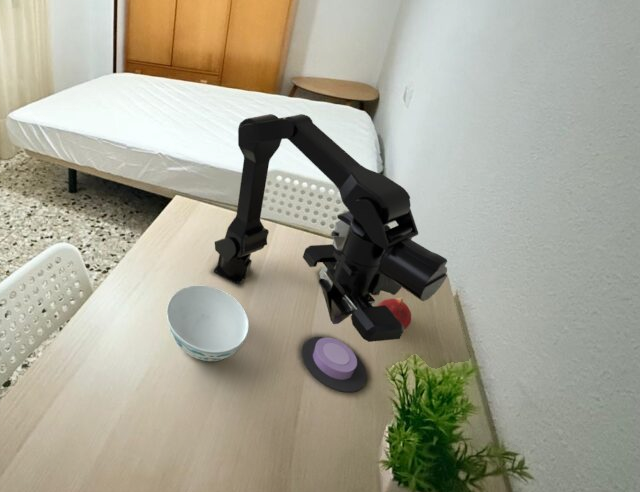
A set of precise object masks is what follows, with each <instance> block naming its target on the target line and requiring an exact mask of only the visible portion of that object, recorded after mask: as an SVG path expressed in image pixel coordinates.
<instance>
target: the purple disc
mask: <svg viewBox="0 0 640 492" xmlns="http://www.w3.org/2000/svg"><path fill="white" fill-rule="evenodd" d="M353 352H354V351H353V349H351V347H350V346H348V344H346V343H344V342H342V341H341V340H339V339H336V338H333V337H327V338H321V339H319V340H318V341H317V343H316V345H315V348H314V351H313V359H314V361H315V363H316V365H317V366H318V367H319V369H320V370H321V371H323V372H324V373H325V374H327V375H328V376H330V377H332V378H335V379H339V380H345V379H348V378H350V377H351V376H352V375H353V373H354V371H355V368H356V366H357V359H356V356H355V354H356V353H355V352H354V353H355V354H354V353H353Z"/></svg>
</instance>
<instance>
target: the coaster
mask: <svg viewBox="0 0 640 492" xmlns="http://www.w3.org/2000/svg"><path fill="white" fill-rule="evenodd" d="M321 338H328V336H313V337H310V338H309V339H307V340H305V342H304V343H303V345H302V348H301V358H302V362H303V363H304V366H305V367H306V369H307V370H308V372H309V373H310V374H311V376H313V377H314V378H315V379H316V380H317V381H318V382H320V383H321V384H322V385H324V386H326V387H328V388H329V389H331V390H334V391H337V392H341V393H355V392H358V391H359V390H361V389H363V387H364V386H365V385H366V382H367V378H368V377H367V370H366V366H365V365H364V363H363V361H362V360H361V358H360V357H359V356H358V355H357V353H356V352H354V351H353V353H354V354H355V356H356V359H357V366H356V368H355V371H354V373H353V375H352V376H351V377H350V378H348V379H345V380H339V379H335V378H332V377H330V376H328V375H327V374H325V373H324V372H323V371H321V370H320V369H319V367H318V366H317V365H316V363H315V361H314V359H313V351H314V348H315V345H316V343H317V341H318V340H319V339H321Z"/></svg>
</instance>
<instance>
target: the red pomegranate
mask: <svg viewBox="0 0 640 492" xmlns="http://www.w3.org/2000/svg"><path fill="white" fill-rule="evenodd" d="M384 305H386V307H387V308H388V309H389V310H390V311H391V312H392V313H393V314H394V316H395V317H396V318H397V319H398V320H399V321H400V323H401V324H402V325H403V326H404V330H406V329H407V328H408V327H409V326H410V325H411V323H412V312H411V310H410V308H409V306H408V305H407V304H406V303H405V302H404V298H403V297H401V296H400V297H397V298H387V299H386V298H385V299H383V300H382V301H381V302H380V303H378V305H377V306H384Z"/></svg>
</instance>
